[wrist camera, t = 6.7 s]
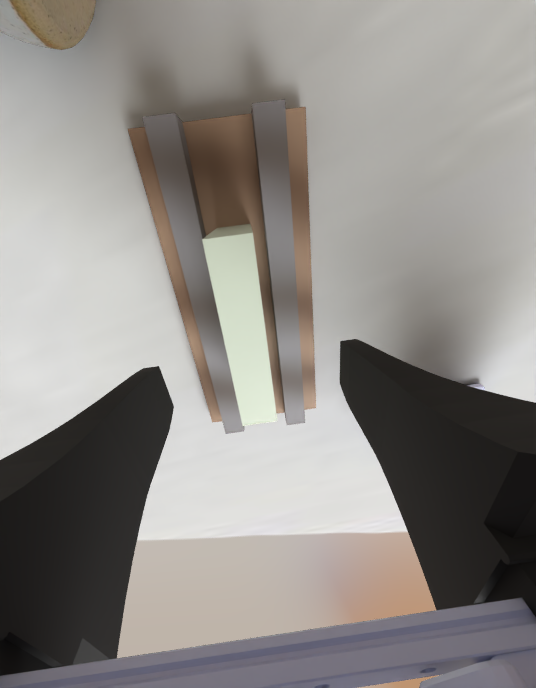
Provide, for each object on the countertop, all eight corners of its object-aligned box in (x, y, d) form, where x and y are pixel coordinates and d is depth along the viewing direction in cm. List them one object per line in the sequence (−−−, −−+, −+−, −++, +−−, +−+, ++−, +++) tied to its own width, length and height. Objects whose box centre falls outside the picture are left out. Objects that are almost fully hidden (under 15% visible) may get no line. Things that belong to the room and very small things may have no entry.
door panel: (269, 364, 20) (277, 421, 15) (243, 368, 20) (242, 426, 15) (250, 223, 16) (252, 233, 10) (216, 227, 16) (202, 239, 10)
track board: (313, 400, 24) (320, 420, 21) (213, 414, 23) (210, 435, 21) (301, 113, 14) (312, 96, 12) (135, 133, 14) (114, 120, 12)
